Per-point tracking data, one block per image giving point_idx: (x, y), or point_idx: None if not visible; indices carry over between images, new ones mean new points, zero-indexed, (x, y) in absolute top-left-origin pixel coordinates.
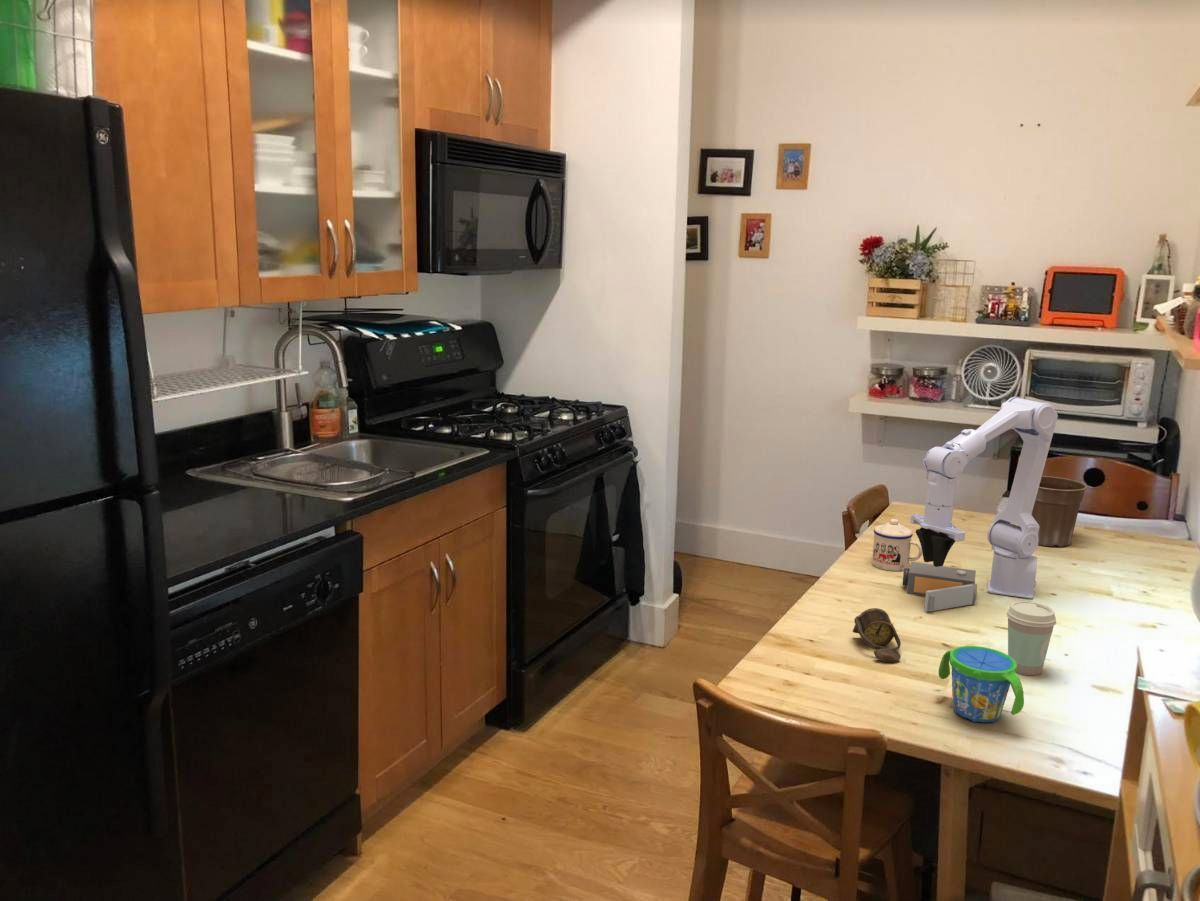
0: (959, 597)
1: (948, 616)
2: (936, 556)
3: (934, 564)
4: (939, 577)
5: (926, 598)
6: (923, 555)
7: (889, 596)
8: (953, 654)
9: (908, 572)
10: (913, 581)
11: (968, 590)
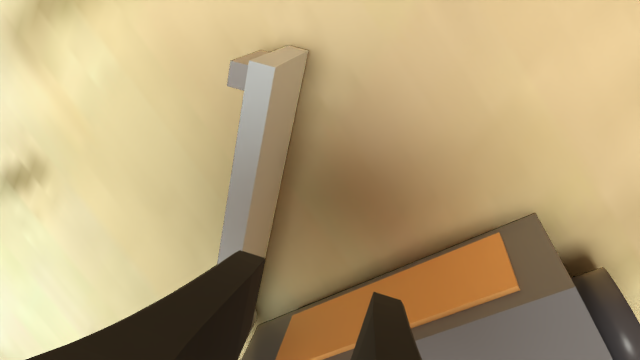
0: None
1: (205, 102)
2: (164, 297)
3: (244, 259)
4: None
5: (280, 58)
6: (400, 332)
7: (588, 93)
8: None
9: (604, 333)
10: (519, 265)
11: None
